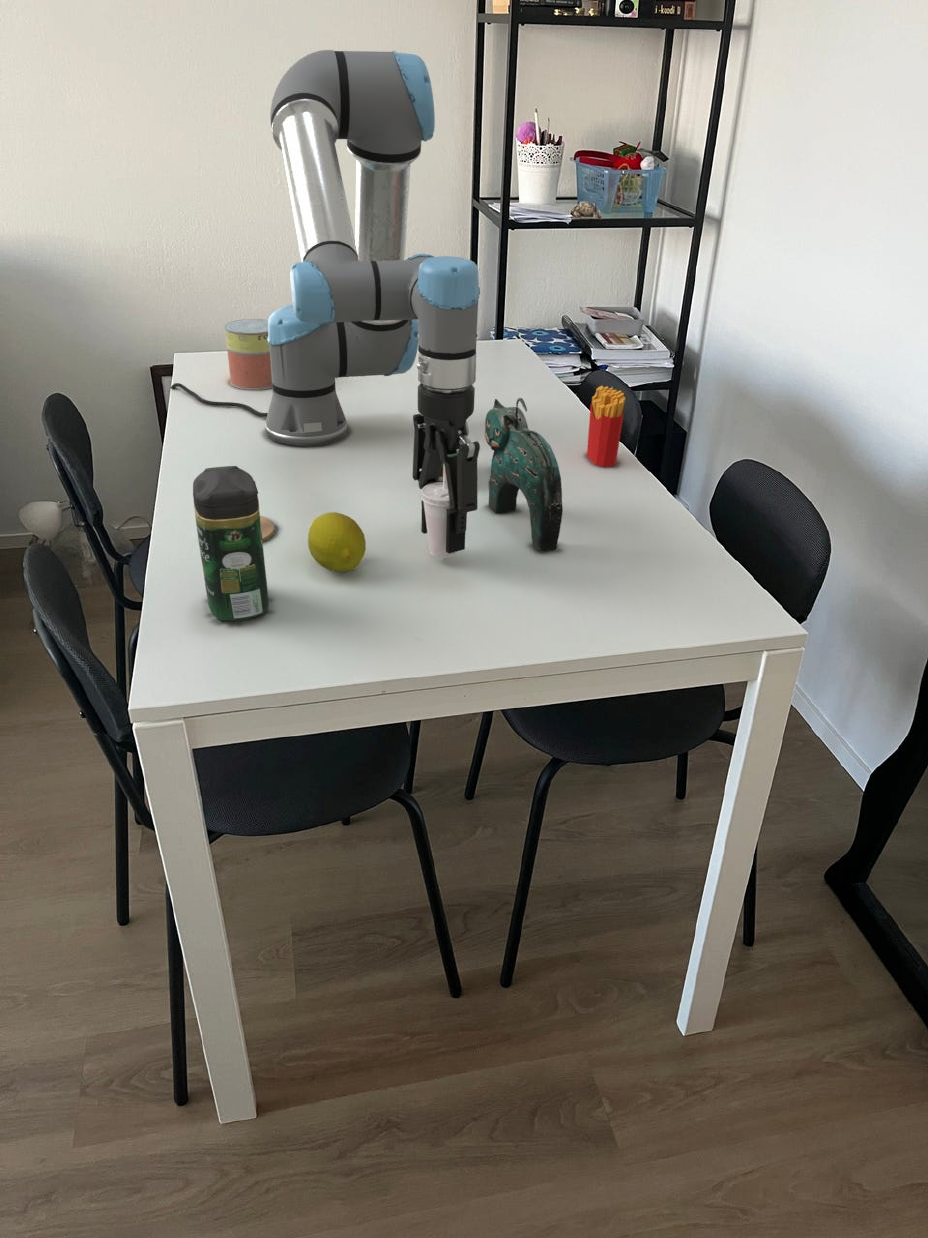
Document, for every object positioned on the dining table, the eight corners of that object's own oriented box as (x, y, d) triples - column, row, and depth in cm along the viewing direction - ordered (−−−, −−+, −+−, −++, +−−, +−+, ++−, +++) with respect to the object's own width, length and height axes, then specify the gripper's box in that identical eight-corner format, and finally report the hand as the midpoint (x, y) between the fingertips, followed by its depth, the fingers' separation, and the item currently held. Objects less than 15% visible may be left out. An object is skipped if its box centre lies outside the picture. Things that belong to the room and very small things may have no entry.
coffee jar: (204, 591, 128) (187, 463, 118) (263, 584, 130) (251, 457, 121) (210, 628, 120) (192, 494, 111) (273, 619, 123) (261, 487, 113)
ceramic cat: (477, 503, 155) (482, 383, 144) (513, 497, 157) (520, 379, 147) (532, 557, 140) (542, 427, 129) (571, 550, 142) (583, 422, 131)
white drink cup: (470, 546, 139) (473, 457, 132) (455, 565, 134) (458, 474, 126) (429, 538, 141) (430, 450, 133) (413, 557, 135) (413, 466, 128)
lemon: (373, 580, 132) (372, 528, 128) (318, 588, 130) (315, 536, 126) (355, 546, 141) (353, 496, 137) (303, 552, 139) (299, 502, 134)
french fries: (581, 451, 176) (588, 383, 169) (603, 450, 177) (611, 381, 170) (600, 470, 168) (608, 399, 161) (622, 469, 169) (631, 398, 162)
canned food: (278, 390, 200) (273, 333, 194) (224, 388, 200) (218, 331, 194) (287, 374, 210) (283, 319, 203) (236, 372, 210) (231, 317, 203)
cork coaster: (198, 525, 145) (197, 522, 145) (259, 512, 150) (259, 509, 149) (221, 552, 138) (220, 548, 138) (285, 537, 142) (284, 534, 142)
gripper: (386, 367, 129) (388, 519, 141) (460, 411, 115) (455, 575, 128) (433, 359, 132) (431, 509, 145) (511, 401, 119) (501, 562, 131)
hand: (442, 540), depth 136 cm, fingers closed on white drink cup, 6 cm apart
